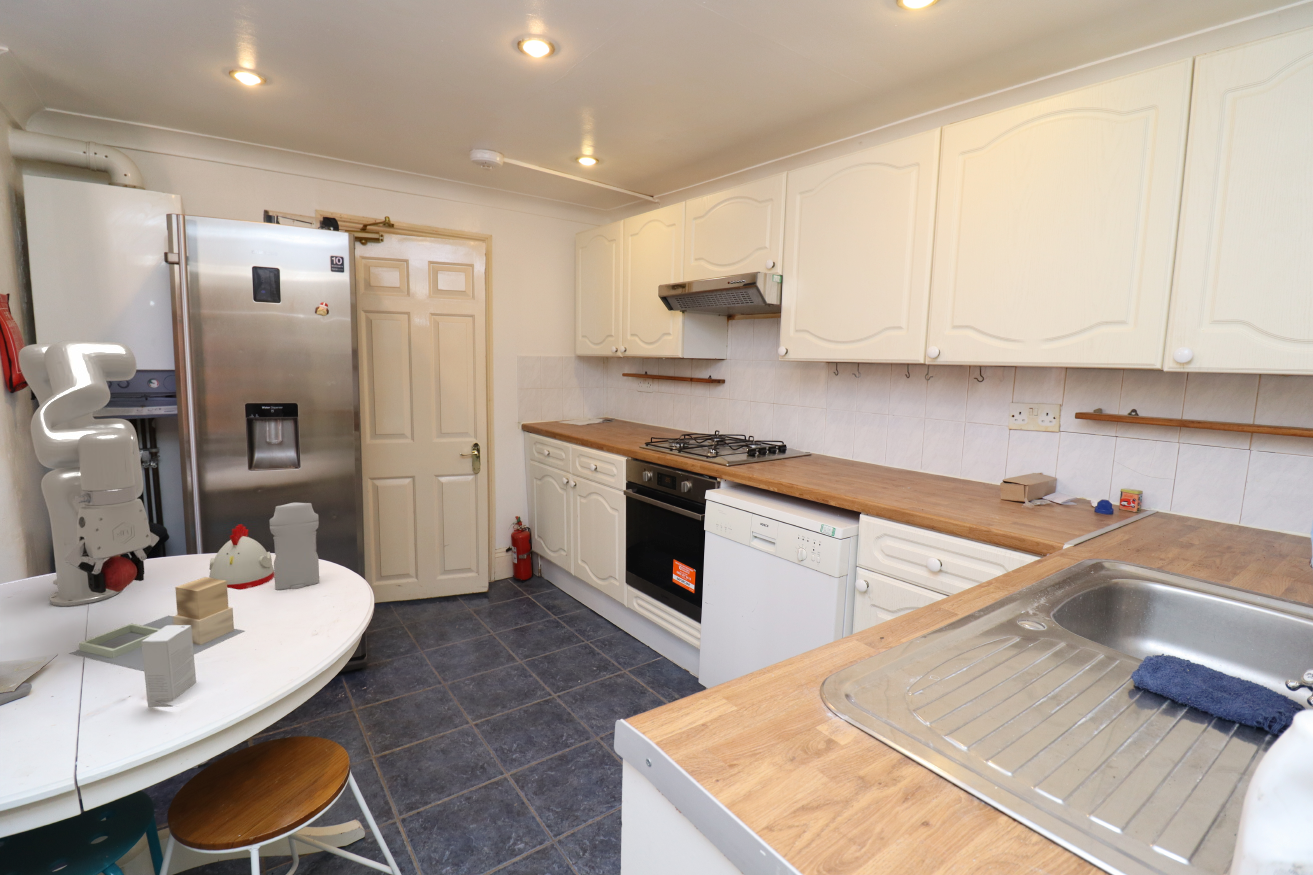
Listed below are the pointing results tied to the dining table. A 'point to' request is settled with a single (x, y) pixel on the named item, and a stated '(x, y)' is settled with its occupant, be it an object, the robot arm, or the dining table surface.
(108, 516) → the robot arm
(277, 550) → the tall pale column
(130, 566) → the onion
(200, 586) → the cube
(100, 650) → the socket
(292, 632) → the dining table surface
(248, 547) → the kitchen timer
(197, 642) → the brown rectangular block
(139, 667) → the board
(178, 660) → the skincare box
